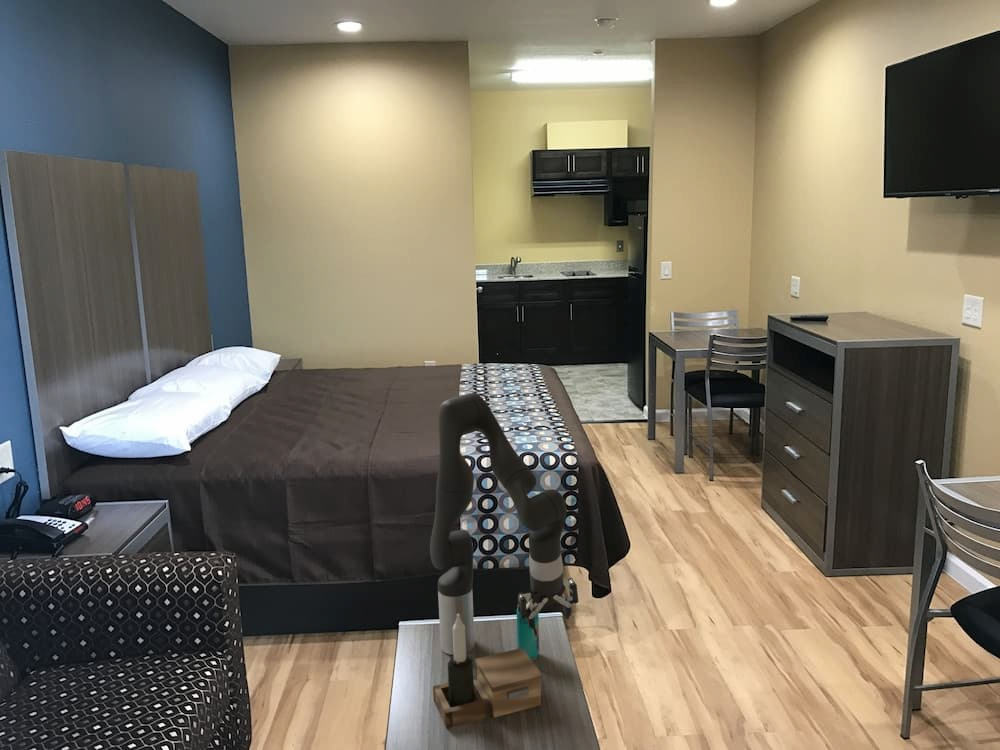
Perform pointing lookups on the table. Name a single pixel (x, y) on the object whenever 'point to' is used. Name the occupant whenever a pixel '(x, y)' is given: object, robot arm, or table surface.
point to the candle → (460, 669)
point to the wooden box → (494, 689)
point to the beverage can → (528, 635)
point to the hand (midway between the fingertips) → (549, 621)
